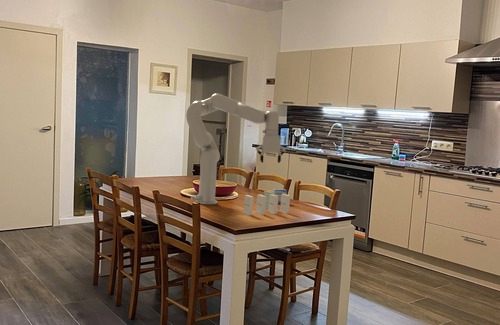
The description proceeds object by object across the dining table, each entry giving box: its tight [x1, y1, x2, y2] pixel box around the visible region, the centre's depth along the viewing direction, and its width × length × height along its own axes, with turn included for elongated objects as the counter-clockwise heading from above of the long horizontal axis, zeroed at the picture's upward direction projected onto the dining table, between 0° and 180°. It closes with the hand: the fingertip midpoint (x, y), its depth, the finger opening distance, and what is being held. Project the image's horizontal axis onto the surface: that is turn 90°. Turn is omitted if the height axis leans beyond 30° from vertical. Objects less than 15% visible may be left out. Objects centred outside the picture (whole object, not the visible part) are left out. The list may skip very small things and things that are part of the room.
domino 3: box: [263, 190, 273, 210], centre depth 282 cm, size 2×6×10 cm, turn 30°
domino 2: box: [255, 194, 266, 216], centre depth 267 cm, size 2×6×10 cm, turn 31°
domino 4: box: [267, 194, 279, 215], centre depth 271 cm, size 2×6×10 cm, turn 30°
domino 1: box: [243, 194, 254, 216], centre depth 263 cm, size 2×6×10 cm, turn 30°
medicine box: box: [272, 188, 288, 205], centre depth 303 cm, size 8×4×9 cm, turn 101°
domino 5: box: [279, 194, 291, 214], centre depth 275 cm, size 2×6×10 cm, turn 30°
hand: (270, 162), depth 281 cm, fingers open, 9 cm apart
